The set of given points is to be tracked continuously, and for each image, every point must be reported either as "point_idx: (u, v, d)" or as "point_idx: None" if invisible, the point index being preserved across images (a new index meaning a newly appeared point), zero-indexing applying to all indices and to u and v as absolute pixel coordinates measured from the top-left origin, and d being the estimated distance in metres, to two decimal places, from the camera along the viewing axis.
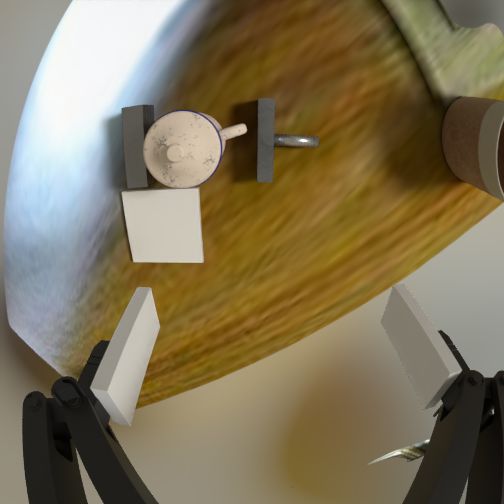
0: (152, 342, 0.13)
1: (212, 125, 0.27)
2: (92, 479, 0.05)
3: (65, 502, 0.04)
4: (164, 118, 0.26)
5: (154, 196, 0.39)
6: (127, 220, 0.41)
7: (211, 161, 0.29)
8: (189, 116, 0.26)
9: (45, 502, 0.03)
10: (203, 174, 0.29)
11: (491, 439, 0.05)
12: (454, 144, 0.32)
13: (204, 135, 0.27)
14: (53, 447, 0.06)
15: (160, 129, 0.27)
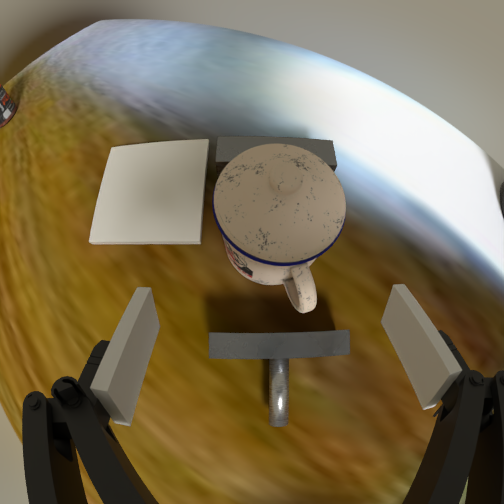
0: (152, 342, 0.13)
1: (324, 249, 0.17)
2: (92, 479, 0.05)
3: (65, 502, 0.04)
4: (334, 175, 0.18)
5: (196, 179, 0.28)
6: (168, 143, 0.29)
7: (262, 243, 0.17)
8: (339, 211, 0.17)
9: (45, 502, 0.03)
10: (237, 229, 0.17)
11: (491, 439, 0.05)
12: None
13: (310, 232, 0.17)
14: (53, 448, 0.06)
15: (318, 167, 0.18)
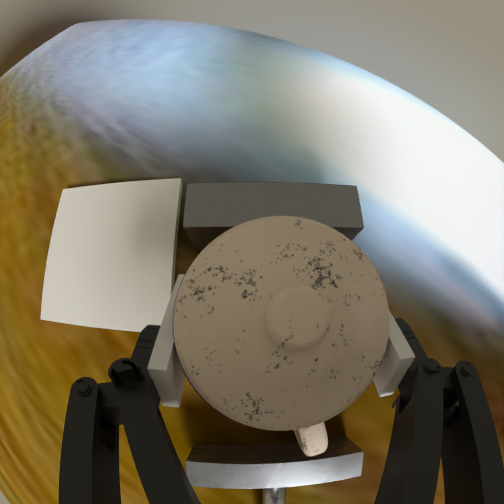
0: None
1: (348, 405, 0.10)
2: (136, 462, 0.06)
3: (99, 493, 0.05)
4: (377, 280, 0.11)
5: (163, 240, 0.20)
6: (128, 184, 0.21)
7: (251, 412, 0.09)
8: (380, 347, 0.10)
9: (78, 491, 0.04)
10: (211, 387, 0.09)
11: (460, 434, 0.06)
12: None
13: (331, 394, 0.09)
14: (98, 437, 0.07)
15: (353, 268, 0.10)
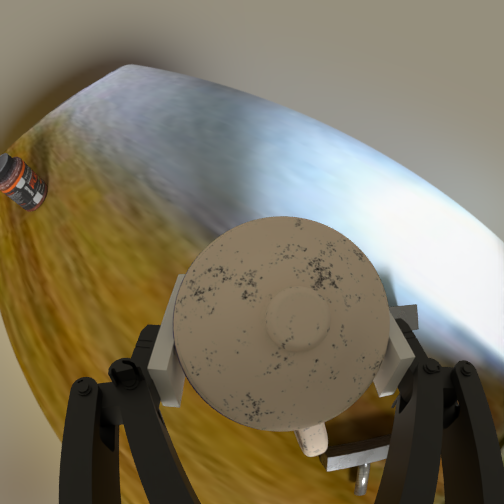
0: None
1: None
2: (136, 462, 0.06)
3: (99, 493, 0.05)
4: (377, 280, 0.11)
5: None
6: None
7: (251, 413, 0.09)
8: (381, 348, 0.10)
9: (78, 491, 0.04)
10: (211, 388, 0.09)
11: (460, 434, 0.06)
12: None
13: (331, 394, 0.09)
14: (98, 437, 0.07)
15: (354, 269, 0.10)
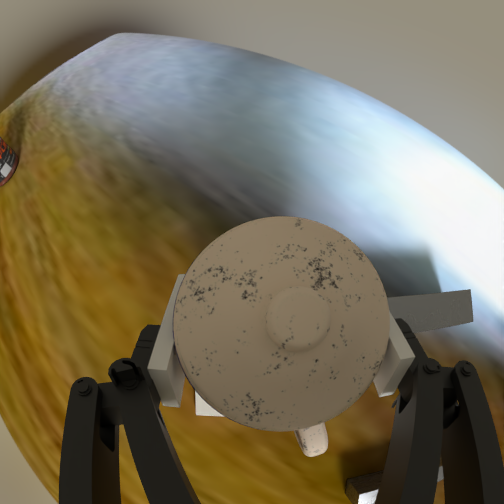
0: None
1: None
2: (136, 462, 0.06)
3: (99, 493, 0.05)
4: (377, 280, 0.11)
5: None
6: None
7: (251, 413, 0.09)
8: (381, 348, 0.10)
9: (78, 491, 0.04)
10: (210, 388, 0.09)
11: (460, 434, 0.06)
12: None
13: (331, 394, 0.09)
14: (98, 437, 0.07)
15: (354, 269, 0.10)
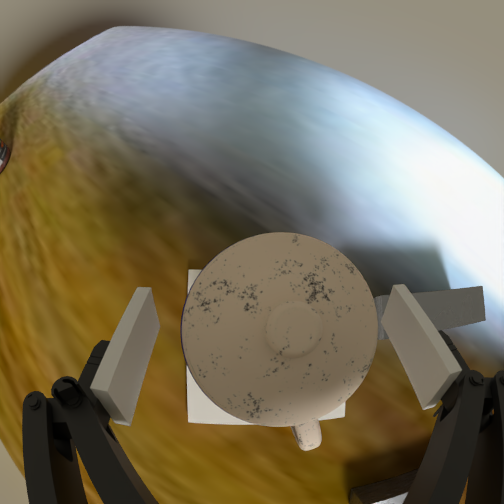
0: (152, 342, 0.13)
1: (339, 404, 0.11)
2: (92, 479, 0.05)
3: (65, 502, 0.04)
4: (367, 292, 0.12)
5: None
6: None
7: (252, 410, 0.10)
8: (369, 353, 0.11)
9: (45, 502, 0.03)
10: (216, 389, 0.10)
11: (491, 439, 0.05)
12: None
13: (323, 394, 0.10)
14: (53, 447, 0.06)
15: (345, 282, 0.12)
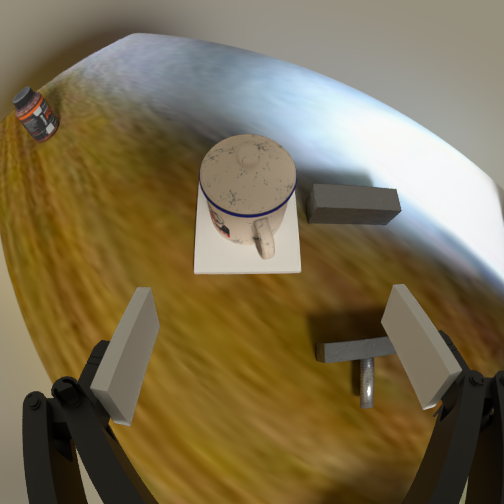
0: (152, 342, 0.13)
1: (277, 205, 0.24)
2: (92, 479, 0.05)
3: (65, 502, 0.04)
4: (288, 155, 0.25)
5: (289, 216, 0.33)
6: None
7: (231, 200, 0.23)
8: (290, 180, 0.24)
9: (45, 502, 0.03)
10: (214, 191, 0.24)
11: (491, 439, 0.05)
12: None
13: (266, 193, 0.23)
14: (53, 448, 0.06)
15: (276, 149, 0.25)
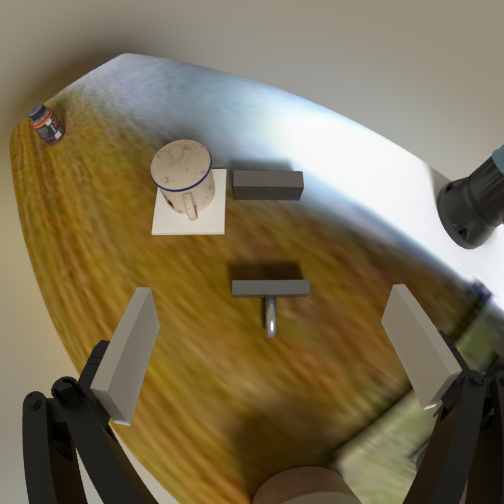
0: (152, 342, 0.13)
1: (194, 183, 0.37)
2: (92, 479, 0.05)
3: (65, 502, 0.04)
4: (206, 152, 0.38)
5: (220, 195, 0.46)
6: None
7: (166, 181, 0.36)
8: (204, 167, 0.37)
9: (45, 502, 0.03)
10: (157, 176, 0.37)
11: (491, 439, 0.05)
12: (294, 477, 0.30)
13: (186, 176, 0.36)
14: (53, 448, 0.06)
15: (198, 148, 0.38)
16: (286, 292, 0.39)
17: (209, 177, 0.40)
